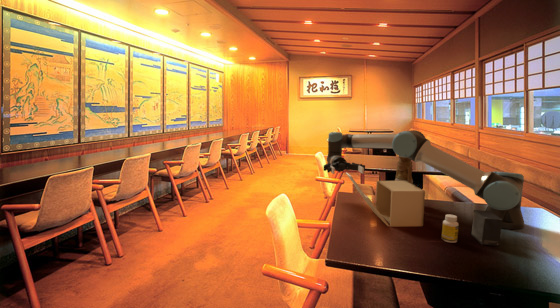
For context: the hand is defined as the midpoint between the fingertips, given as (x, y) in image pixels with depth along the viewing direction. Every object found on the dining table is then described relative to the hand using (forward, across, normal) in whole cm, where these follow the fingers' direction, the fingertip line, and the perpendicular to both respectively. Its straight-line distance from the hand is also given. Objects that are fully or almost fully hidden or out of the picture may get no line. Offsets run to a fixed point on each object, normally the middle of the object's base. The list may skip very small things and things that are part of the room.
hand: (348, 171), depth 147 cm
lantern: (-23, -36, -22) cm, 48 cm away
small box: (+29, -47, -22) cm, 59 cm away
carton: (+5, -22, -22) cm, 32 cm away
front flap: (+4, -14, -21) cm, 26 cm away
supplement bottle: (+28, -33, -22) cm, 49 cm away
